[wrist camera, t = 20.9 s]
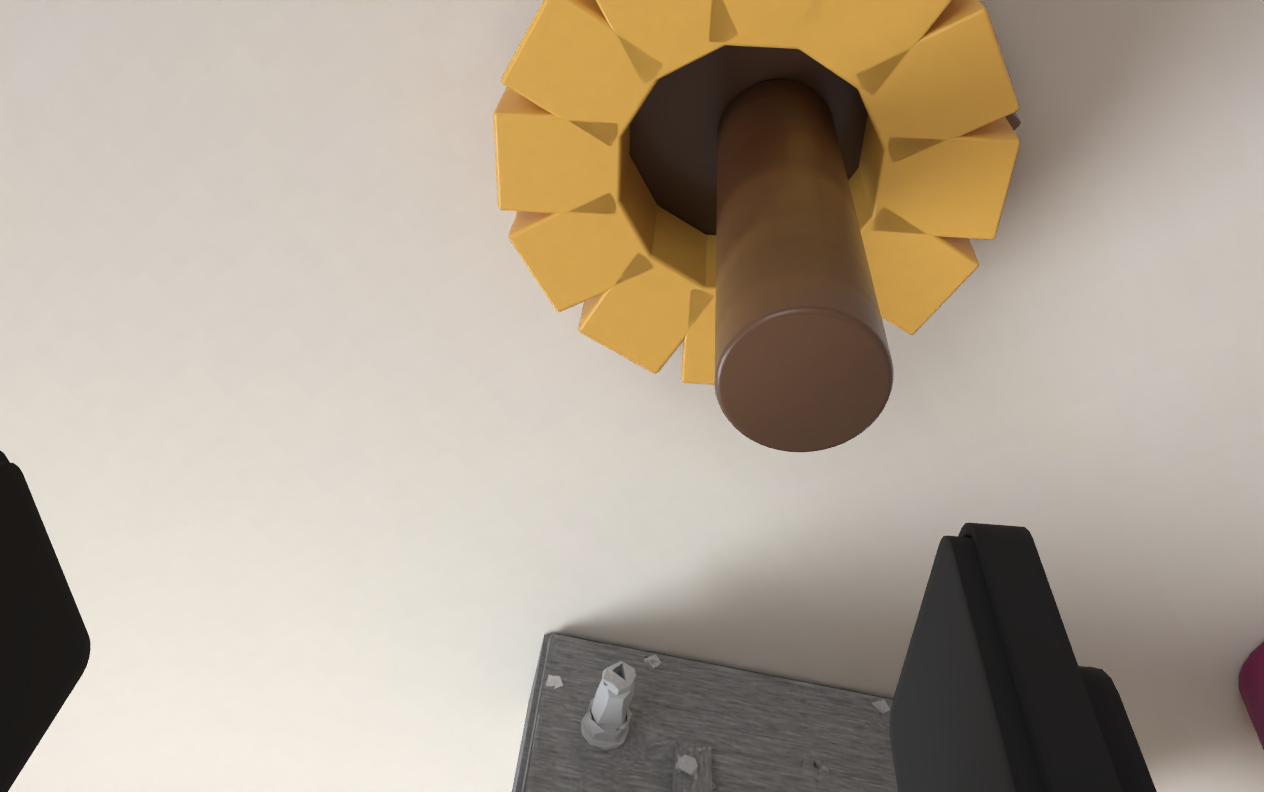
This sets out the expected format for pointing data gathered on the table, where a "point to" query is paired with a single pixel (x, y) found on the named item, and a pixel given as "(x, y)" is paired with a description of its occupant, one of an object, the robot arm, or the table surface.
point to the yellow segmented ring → (686, 258)
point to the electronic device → (693, 728)
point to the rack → (775, 237)
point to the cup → (1254, 689)
